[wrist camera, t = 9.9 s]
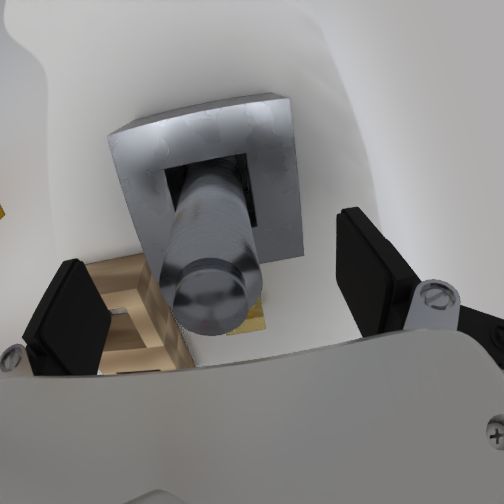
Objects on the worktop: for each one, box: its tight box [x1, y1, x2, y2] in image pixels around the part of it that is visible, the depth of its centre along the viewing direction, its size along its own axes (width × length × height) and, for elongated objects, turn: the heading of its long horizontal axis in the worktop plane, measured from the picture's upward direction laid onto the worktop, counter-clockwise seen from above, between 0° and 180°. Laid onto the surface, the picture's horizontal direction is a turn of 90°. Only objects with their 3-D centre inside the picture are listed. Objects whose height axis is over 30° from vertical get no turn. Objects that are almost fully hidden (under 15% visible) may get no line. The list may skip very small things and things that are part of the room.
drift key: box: [226, 296, 266, 336], centre depth 25 cm, size 12×4×3 cm, turn 8°
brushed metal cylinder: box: [159, 155, 262, 336], centre depth 16 cm, size 4×4×15 cm
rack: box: [85, 253, 195, 375], centre depth 25 cm, size 16×8×12 cm, turn 8°
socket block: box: [107, 93, 304, 282], centre depth 20 cm, size 10×10×6 cm
